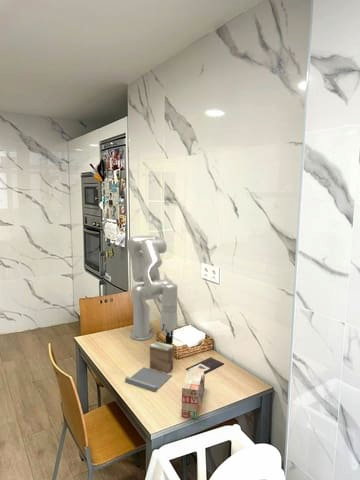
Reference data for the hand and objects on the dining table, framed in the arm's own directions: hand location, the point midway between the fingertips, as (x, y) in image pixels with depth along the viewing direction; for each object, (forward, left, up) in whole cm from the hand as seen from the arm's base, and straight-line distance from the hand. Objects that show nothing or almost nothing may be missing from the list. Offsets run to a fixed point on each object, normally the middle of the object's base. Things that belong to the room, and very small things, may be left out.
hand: (169, 343), depth 173 cm
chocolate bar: (-5, +18, -11) cm, 22 cm away
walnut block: (+7, 0, -10) cm, 13 cm away
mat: (+17, 0, -10) cm, 20 cm away
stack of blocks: (+24, +25, -10) cm, 36 cm away
